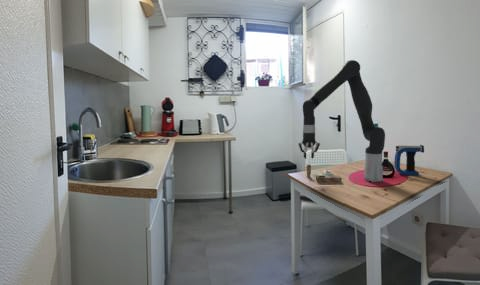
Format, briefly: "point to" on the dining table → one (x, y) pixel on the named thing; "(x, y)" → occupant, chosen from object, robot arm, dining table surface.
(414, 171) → the handheld scanner
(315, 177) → the subfloor panel
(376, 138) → the robot arm
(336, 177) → the joist batten
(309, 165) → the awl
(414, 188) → the dining table surface
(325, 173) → the stud finder block
